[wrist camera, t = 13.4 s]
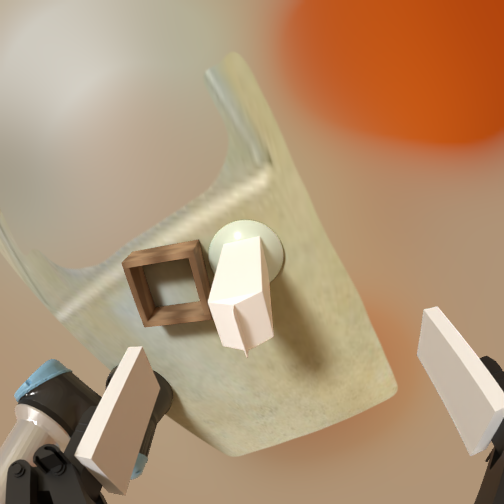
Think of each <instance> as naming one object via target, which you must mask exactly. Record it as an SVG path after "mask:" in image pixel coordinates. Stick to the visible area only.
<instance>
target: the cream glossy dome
mask: <svg viewBox="0 0 504 504" xmlns="http://www.w3.org/2000/svg"><path fill="white" fill-rule="evenodd" d="M257 236H260V238H261V242H262V247H263V251H264V255H265V259H266V263H267V267H268V274H269V283H270V282H271V281H272V280H273V279H274V278H275V277H276V276H277V274H278V273H279V271H280V269H281V266H282V263H283V248H282V244H281V242H280V240H279V238H278V236H277V235H276V233H275V232H274V231H273V230H272V229H271V228H269V227H268V226H267V225H265V224H263V223H261V222H258V221H255V220H237V221H233V222H231V223H229V224H227V225H225V226H224V227H222V228H221V229H220V230H219V231H218V232H217V233H216V235H215V236H214V238H213V239H212V242H211V244H210V248H209V262H210V266H211V268H212V270H213V272H214V274H215V273H216V269H217V266H218V262H219V259H220V255H221V251H222V248H223V245H224V244H227V243H231V242H235V241H240V240H244V239H249V238H253V237H257Z"/></svg>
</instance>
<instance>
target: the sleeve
mask: <svg viewBox="0 0 504 504" xmlns="http://www.w3.org/2000/svg"><path fill="white" fill-rule="evenodd" d="M183 258H189V262H190V266H191V270H192V273H193V277H194V281H195V284H196V288H197V292H198V295H199V299H200V301H198V302H191V303H184V304H176V305H169V306H161V307H155V304H154V301H153V298H152V295H151V292H150V289H149V286H148V283H147V280H146V277H145V274H144V271H143V268H142V265H148V264H154V263H160V262H166V261H172V260H178V259H183ZM122 266H123V269H124V272H125V275H126V278H127V281H128V283H129V286H130V289H131V292H132V295H133V298H134V301H135V303H136V306H137V309H138V311H139V314H140V317H141V319H142V322H143V325H144V327H152V326H161V325H170V324H179V323H188V322H196V321H204V320H211V319H212V314H211V311H210V308H209V305H208V299H209V295H210V292H211V287H210V283H209V279H208V275H207V271H206V267H205V263H204V259H203V255H202V251H201V247H200V243H199V240H194V241H188V242H183V243H177V244H172V245H166V246H161V247H156V248H150V249H145V250H140V251H134V252H132V253H131V254H130V255H129V256H128V257H127V258H126V259H125V260H124V261H123V262H122Z"/></svg>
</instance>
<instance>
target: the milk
mask: <svg viewBox="0 0 504 504" xmlns="http://www.w3.org/2000/svg"><path fill="white" fill-rule="evenodd" d="M208 305H209V308H210V311H211V314H212V317H213V319H214V322H215V325H216V328H217V331H218V334H219V336H220V339H221V342H222V345H223V346H226V347H231V348H236V349H241V350H244V352H245V355H246V357H247V358H248V351H249V350H250V349H252V348H254V347H256V346H258V345H260V344H261V343H263V342H265V341H267V340H269V339H270V338H272V337H274V331H273V319H272V308H271V297H270V285H269V274H268V267H267V263H266V259H265V255H264V251H263V247H262V242H261V238H260V236H257V237H253V238H249V239H244V240H240V241H235V242H231V243H227V244H224V245H223V248H222V251H221V255H220V259H219V262H218V266H217V269H216V273H215V277H214V280H213V284H212V288H211V292H210V295H209V299H208Z"/></svg>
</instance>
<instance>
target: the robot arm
mask: <svg viewBox="0 0 504 504" xmlns="http://www.w3.org/2000/svg"><path fill="white" fill-rule="evenodd" d="M417 356H418V358H419V360H420V361H421V363H422V365H423V367H424V368H425V370H426V372H427V374H428V375H429V377H430V379H431V381H432V383H433V384H434V386H435V388H436V390H437V392H438V393H439V395H440V397H441V399H442V401H443V403H444V405H445V407H446V409H447V410H448V412H449V414H450V416H451V418H452V420H453V422H454V424H455V426H456V428H457V430H458V432H459V434H460V436H461V438H462V440H463V442H464V444H465V446H466V448H467V450H468V452H469V455H470V456H472V455H474V454H476V453H479V452H481V451H483V450H485V449H486V448H487V447H488V445H489V443H490V442H491V441H492V443H493V444H494V448H493V449H492V451H491V453H490V454H489V456H488V457H487V459H486V462H488V460H489V459H490V460H489V463H488V466H487V470H486V473H485V476H484V479H483V482H482V484H481V488H480V490H479V493H478V495H477V498H476V501H475V503H474V504H504V372H503V371H502V369H501V367H500V366H499V365H498V364H497V362H496V361H494V360H493V359H491V358H490V357H488V356H484V357H482V358H478V356H477V355H476V354H475V352H474V351H473V350H472V349H471V347H470V346H469V345H468V343H467V342H466V341H465V340H464V338H463V337H462V336H461V334H460V333H459V332H458V331H457V330H456V328H455V327H454V326H453V325H452V323H451V322H450V321H449V320H448V319H447V317H446V316H445V315H444V314H443V313H442V311H441V310H440V309H439V308H438V307H433V308H428V309H424V310H423V318H422V325H421V333H420V339H419V345H418V351H417ZM14 397H15V398H16V400H17V402H19V403H18V405H17V406H16V407H15V414H16V418H17V422H16V424H15V425H14V427H13V429H12V430H11V432H10V433H9V435H8V437H7V438H6V440H5V442H4V443H3V445H2V446H1V448H0V504H107V502H106V500H105V498H104V496H103V495H102V493H101V492H100V491H101V488H102V486H103V487H104V488H105V489H106V490H107V491H108V492H110V493H114V494H119V495H126V492H127V488H128V485H129V482H130V480H132V479H135V478H138V477H139V476H140V475H141V474H142V472H143V469H144V467H145V464H146V463H147V461H148V454H149V450H150V447H151V443H152V439H153V436H154V432H155V429H156V425H157V423H158V422H159V421H160V420H161V418H162V417H163V416H164V414H166V413H167V412H168V410H169V409H170V406H171V403H172V399H173V393H172V390H171V387H170V386H169V384H168V383H167V381H166V380H165V379H164V378H163V377H162V376H160V375H159V374H158V373H156V372H155V371H153V370H152V368H151V366H150V363H149V361H148V359H147V356H146V354H145V352H144V349H143V347H128V349H127V351H126V353H125V355H124V356H123V358H122V360H121V362H120V364H119V366H116V367H115V368H114V369H113V370H112V371H111V372H110V374H109V376H108V378H107V381H106V391H105V393H104V395H103V397H101V396H99V395H98V394H97V393H96V392H94V391H93V390H92V389H91V388H89V387H88V386H87V385H86V384H85V383H83V382H82V381H81V380H80V379H79V378H78V377H76V376H75V375H74V374H73V373H72V371H71V370H70V369H67V368H66V367H65V366H64V365H63V364H61V363H60V362H59V361H57V360H55V359H51V360H48V361H46V362H45V363H44V364H43V365H42V366H40V367H39V368H38V369H37V370H36V371H35V372H34V373H33V374H32V375H31V376H30V377H29V378H28V380H26V382H25V383H23V384H22V385H21V387H20V388H19V389H18V390H17V391H16V393H15V395H14ZM63 452H64V453H63Z"/></svg>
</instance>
